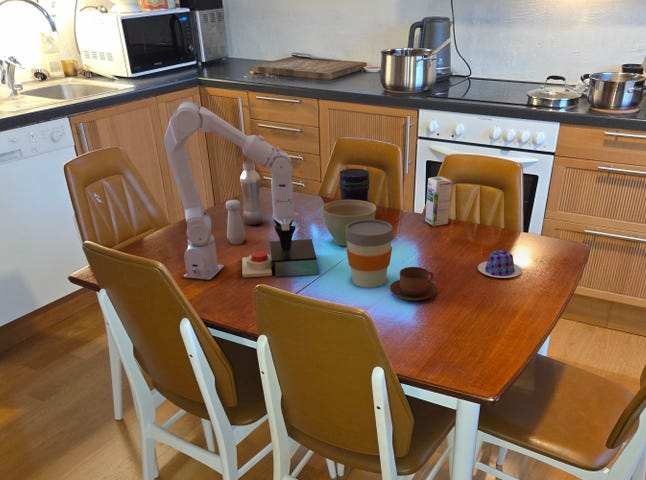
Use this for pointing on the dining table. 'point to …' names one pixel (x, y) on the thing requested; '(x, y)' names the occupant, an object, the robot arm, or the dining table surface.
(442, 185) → the syrup box
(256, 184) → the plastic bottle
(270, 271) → the button base
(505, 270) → the pudding
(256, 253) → the button
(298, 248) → the lid
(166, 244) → the dining table surface
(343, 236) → the planter bowl
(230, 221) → the salt shaker
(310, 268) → the dark green box
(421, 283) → the cup and saucer
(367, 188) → the storage jar
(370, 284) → the reusable coffee cup
